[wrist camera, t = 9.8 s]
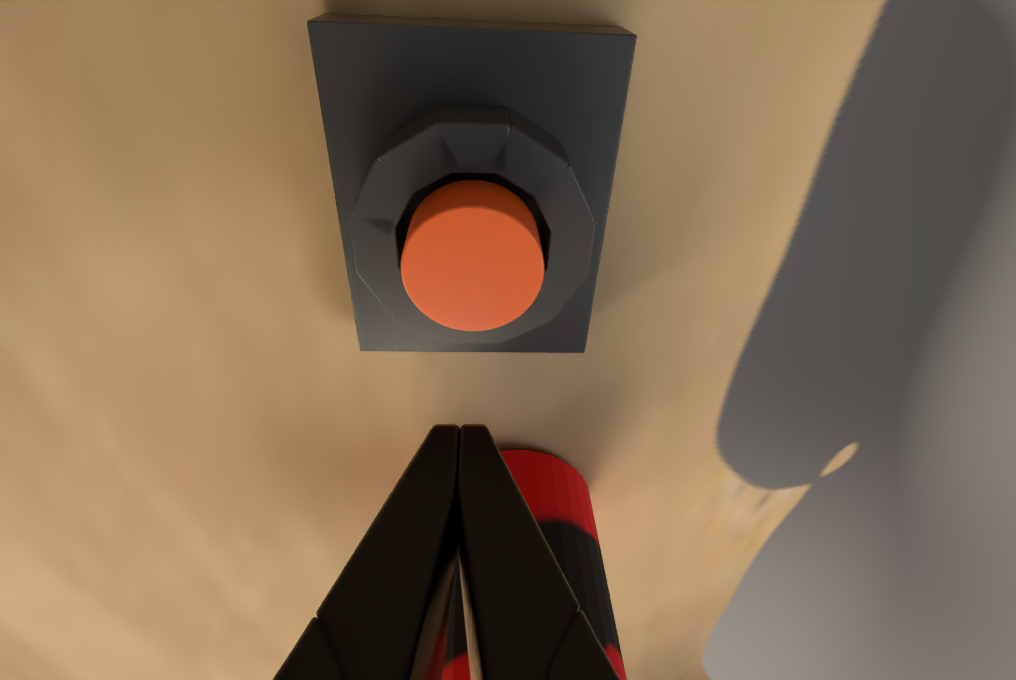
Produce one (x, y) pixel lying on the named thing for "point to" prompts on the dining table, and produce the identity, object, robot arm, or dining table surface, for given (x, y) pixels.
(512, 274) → the button
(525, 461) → the soda can
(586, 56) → the panel
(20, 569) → the dining table surface
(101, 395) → the dining table surface
